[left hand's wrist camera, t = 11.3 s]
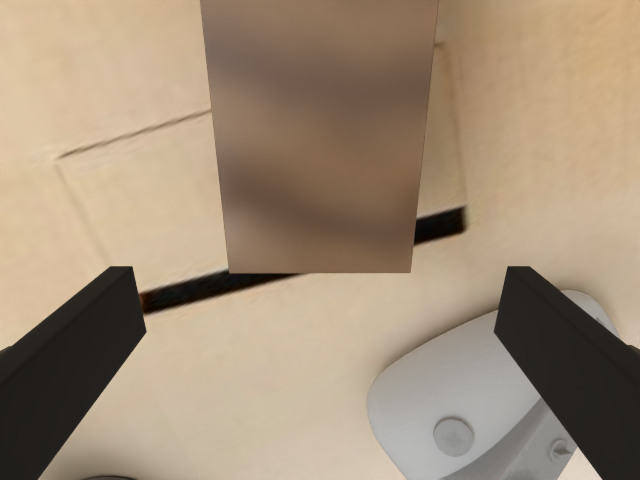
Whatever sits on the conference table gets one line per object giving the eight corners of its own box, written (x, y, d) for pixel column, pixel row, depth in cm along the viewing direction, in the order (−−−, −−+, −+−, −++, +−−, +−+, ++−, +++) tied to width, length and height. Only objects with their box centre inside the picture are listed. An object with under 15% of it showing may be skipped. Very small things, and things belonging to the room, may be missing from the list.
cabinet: (241, -90, 23) (172, -256, 12) (397, -90, 23) (465, -256, 12) (261, 211, 31) (229, 273, 20) (378, 211, 31) (410, 273, 20)
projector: (548, 452, 42) (660, 624, 28) (353, 444, 41) (369, 616, 27) (618, 285, 33) (823, 414, 20) (374, 273, 33) (413, 397, 19)
